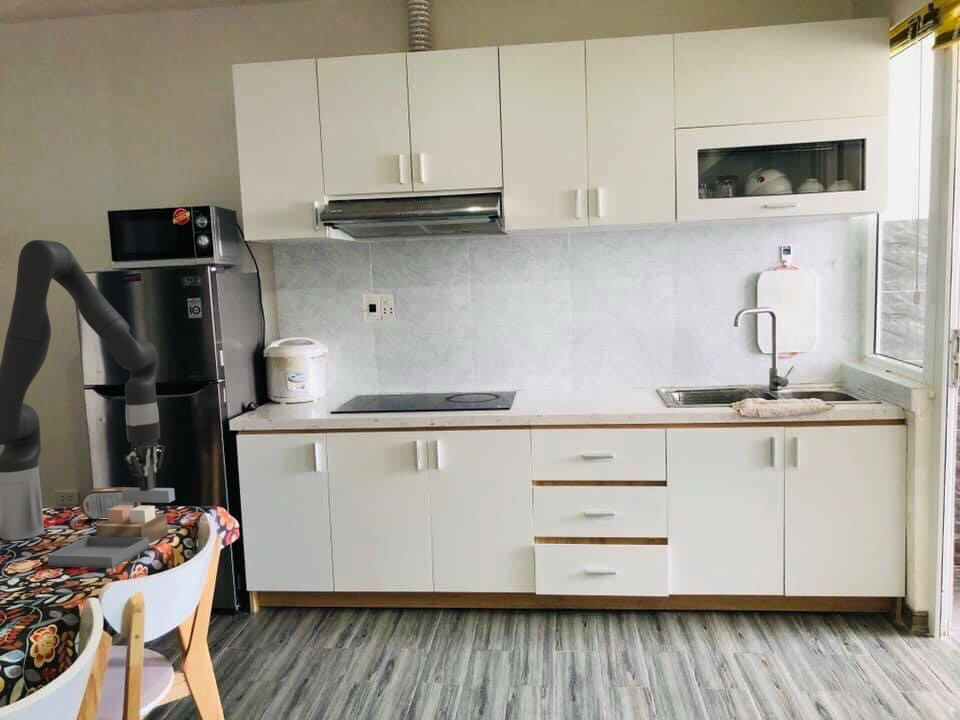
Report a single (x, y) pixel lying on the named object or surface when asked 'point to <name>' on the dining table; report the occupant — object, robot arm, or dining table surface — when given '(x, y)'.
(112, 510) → the tile
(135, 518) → the tile
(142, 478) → the robot arm
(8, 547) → the dining table surface
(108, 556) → the box
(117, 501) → the tin
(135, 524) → the tan slab
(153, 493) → the grey t-shaped tool
